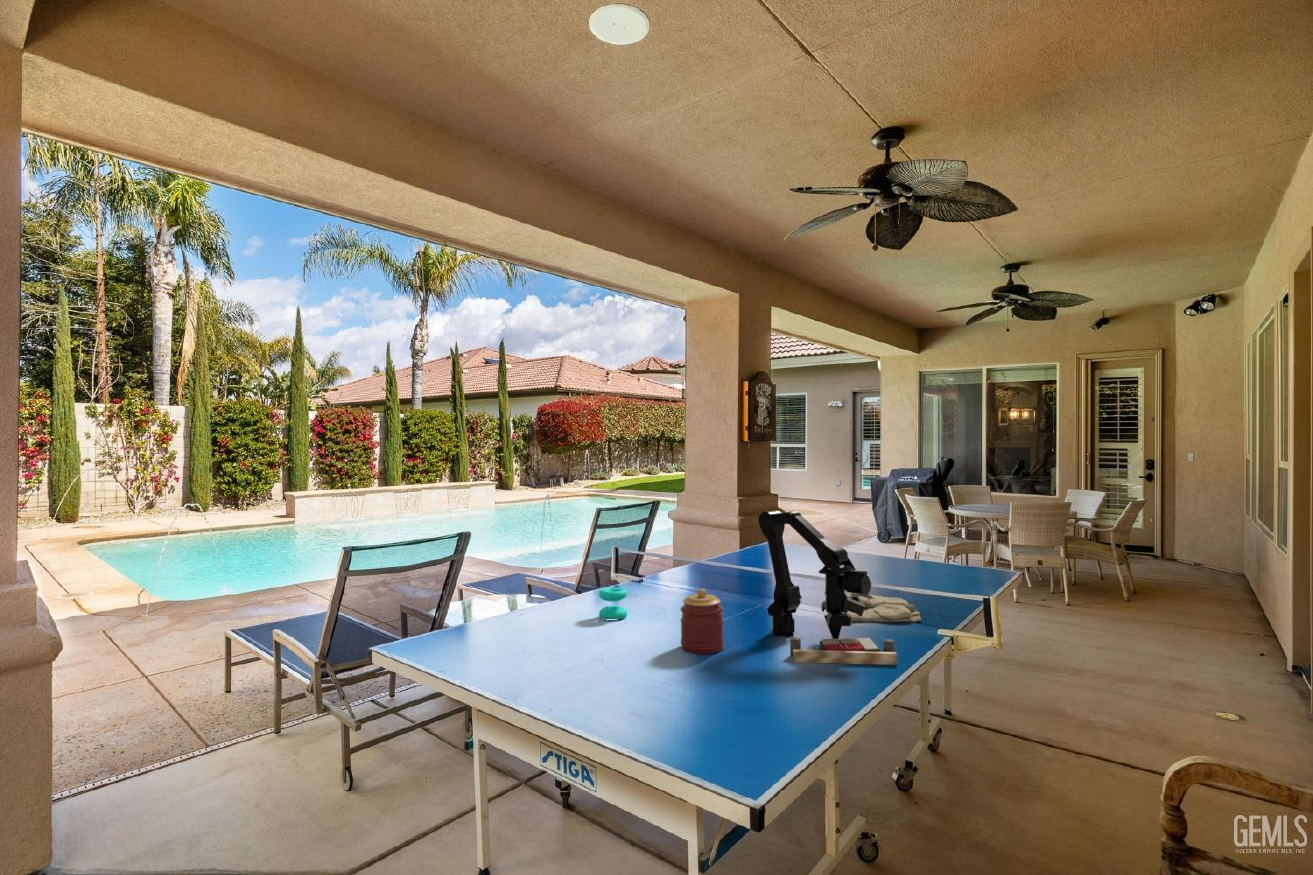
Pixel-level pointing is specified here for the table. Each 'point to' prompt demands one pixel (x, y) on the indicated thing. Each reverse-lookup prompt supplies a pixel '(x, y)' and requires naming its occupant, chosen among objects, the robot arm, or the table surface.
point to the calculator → (849, 644)
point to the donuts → (613, 595)
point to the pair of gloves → (884, 610)
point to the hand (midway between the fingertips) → (835, 641)
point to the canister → (702, 624)
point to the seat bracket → (844, 654)
